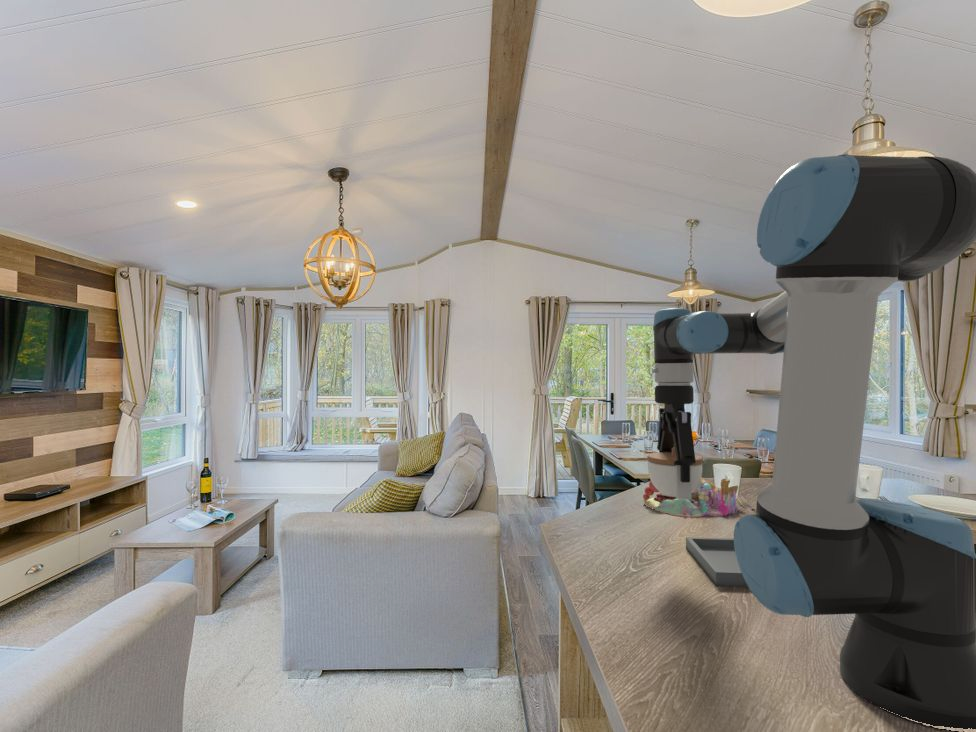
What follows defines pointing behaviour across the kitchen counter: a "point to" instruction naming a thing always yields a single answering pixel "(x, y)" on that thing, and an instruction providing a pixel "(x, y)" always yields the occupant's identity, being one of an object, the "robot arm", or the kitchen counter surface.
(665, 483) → the lidded jar
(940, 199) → the robot arm
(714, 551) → the tray
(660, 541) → the kitchen counter surface
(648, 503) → the candy landscape model
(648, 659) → the kitchen counter surface
